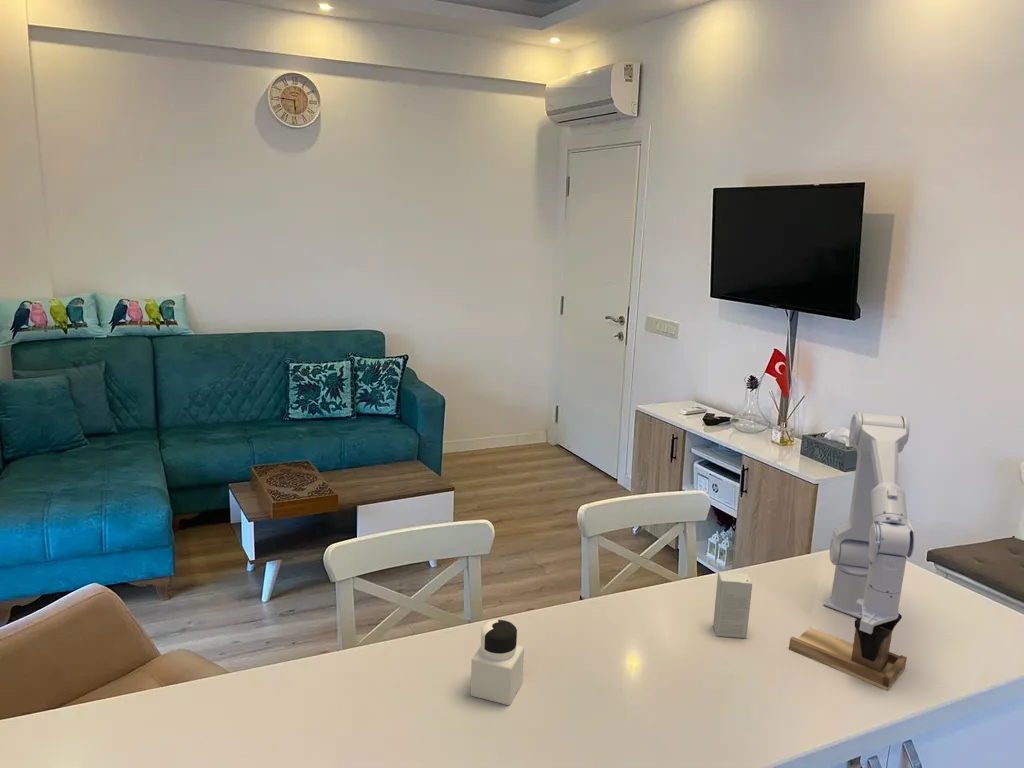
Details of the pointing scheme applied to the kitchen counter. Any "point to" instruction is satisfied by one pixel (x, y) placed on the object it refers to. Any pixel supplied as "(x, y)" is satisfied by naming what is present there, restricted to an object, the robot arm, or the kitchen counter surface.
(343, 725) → the kitchen counter surface
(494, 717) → the kitchen counter surface
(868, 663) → the cabinet block
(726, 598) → the skincare box
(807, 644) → the cleat board
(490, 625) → the medicine bottle
